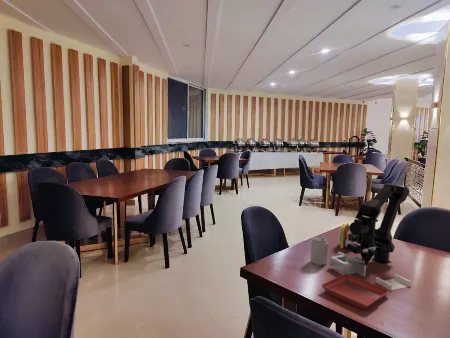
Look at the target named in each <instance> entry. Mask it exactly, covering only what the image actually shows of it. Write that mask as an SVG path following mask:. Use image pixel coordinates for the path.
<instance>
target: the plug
mask: <svg viewBox="0 0 450 338" xmlns="http://www.w3.org/2000/svg"><path fill="white" fill-rule="evenodd" d="M349 261H357V262H361V263H363V264H364V263H365V260H363V259H362V257H359V256H357V257H350V258H349V257H348V258H347V260H346V262H349Z"/></svg>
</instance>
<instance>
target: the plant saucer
mask: <svg viewBox="0 0 450 338" xmlns="http://www.w3.org/2000/svg"><path fill="white" fill-rule="evenodd" d="M345 282H348V283H351V284H353V285H356V286H358V287H361V288H363V289H366V290H369V291H371V292H373V293H375V294H378V295H380V296H379V297H376V298H375V297H370V296H368V295H366V294H364V293H362V292H360V291H358V290H355V289H353V288H351V287H349V286H348V285H345V284H343V283H345ZM321 287H322V288H323V290H324V291H325V292H326V293H327V294H328V295H331V296H333V297H335V298H336V299H337V298H338V299H340V300H341V301H344V302H346V303H348V304H350V305H353V306H354V307H357V308H359V309H362V310H366V309H367V308H369V307H370V306H372V305H373V304H375V303H376V302H378V301H379V300H381V299H383V298H384V297H385V296H387V294H389V293H390V290H389V289H387V288H385V287H383V286H380V285H376V284H374V283H371V282H369V281H366V280H364V279H360V278H358V277H355V276H353V275H352V274H343V275H342V274H340V275H339V276H337V277H335V278H332V279H331V280H328V281H326V282H325V283H322V284H321Z"/></svg>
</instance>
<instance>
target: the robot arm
mask: <svg viewBox="0 0 450 338" xmlns="http://www.w3.org/2000/svg"><path fill="white" fill-rule="evenodd" d="M409 194H410V189H409V188H408V187H407V186H406V185H400V184H393V183H388V182H386V183H384V184H383V186H382V188H381V189H380V190H379V191H378V192H377V194H375V196H374V197H373V198H372V199H369V200H367V201H365V202H364V203H362V204H361V206H360V207H359V209H358V211H357V214H356V215H355V218H354V220H353V222H351V223H349V225H350V226H349V229H350V232H351V233H352V234H348V240H349V241H351V244H348V245H347V247H346V246H345V248H346V249H345V250H346V251H349V252H350V253H353V254H355V255H359V254H360V258H361V259H363V260H365V263H364V264H365V265H366V266H368V264H369V262H371V260H372V261H374V262H377V263H378V264H382V265H385V264H389V263H391V264H392V261H391V260H390V255H391V254H390V253H393V252H394V251H395V245H394V243H393V235H392V233H391V231H392V229H393V226H394V222H395V221H396V220H395V219H396V216H397V214H398V211H399V208H400V206H401V204H403V202H405V201H406V200H407V197H408V196H409ZM387 201H388V203H387V206H386V208H385V212H384V215H383V217H382V219H381V223H380V226H379V227H378V228H376V223H377V222H379V220H378V218H379V216H380V214H381V213H382V209H381V208H382V207H383V206H384V204H385V203H386V202H387ZM353 242H355V243H353Z"/></svg>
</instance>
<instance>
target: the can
mask: <svg viewBox="0 0 450 338" xmlns="http://www.w3.org/2000/svg"><path fill="white" fill-rule="evenodd" d="M310 245H311V247H310V259H309V260H310V262H311V263H312V264H313V265H316V266H325V265H326V264H327V261H328V246H329V241H328V239H327V237H323V236H313V237H312V239H311V243H310Z"/></svg>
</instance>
